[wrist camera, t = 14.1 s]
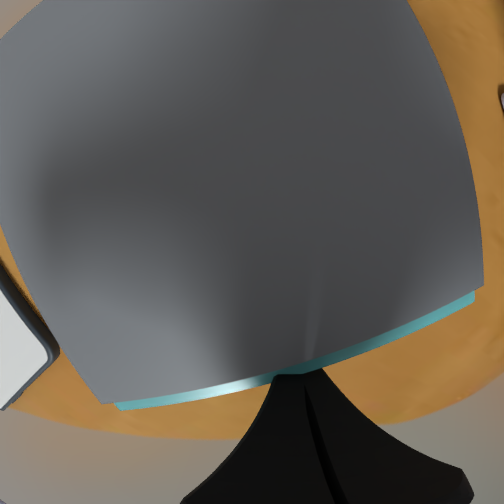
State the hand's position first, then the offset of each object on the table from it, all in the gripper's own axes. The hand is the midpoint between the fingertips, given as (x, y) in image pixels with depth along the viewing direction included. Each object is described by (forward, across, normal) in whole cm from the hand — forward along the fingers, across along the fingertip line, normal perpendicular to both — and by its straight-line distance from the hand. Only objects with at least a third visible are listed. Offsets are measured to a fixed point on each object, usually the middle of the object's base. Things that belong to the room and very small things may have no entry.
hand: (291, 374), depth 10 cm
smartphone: (+5, +22, +5) cm, 23 cm away
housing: (+4, +3, -8) cm, 9 cm away
